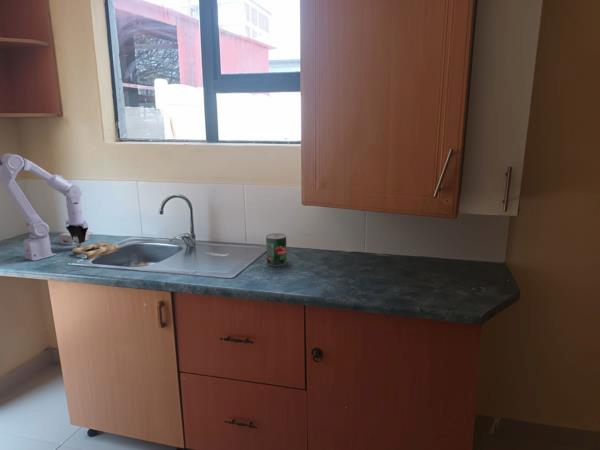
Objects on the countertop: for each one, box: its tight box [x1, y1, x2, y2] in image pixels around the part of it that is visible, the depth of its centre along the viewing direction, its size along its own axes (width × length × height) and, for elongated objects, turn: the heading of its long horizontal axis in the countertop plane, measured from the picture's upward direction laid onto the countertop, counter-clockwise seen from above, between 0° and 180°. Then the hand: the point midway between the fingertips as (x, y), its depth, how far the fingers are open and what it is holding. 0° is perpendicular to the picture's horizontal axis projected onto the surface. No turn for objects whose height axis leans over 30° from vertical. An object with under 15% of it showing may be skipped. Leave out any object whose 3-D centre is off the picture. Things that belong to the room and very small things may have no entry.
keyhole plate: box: [71, 241, 120, 260], centre depth 192 cm, size 14×12×2 cm
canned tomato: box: [265, 232, 288, 267], centre depth 173 cm, size 8×8×11 cm
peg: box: [72, 235, 85, 250], centre depth 199 cm, size 5×5×6 cm
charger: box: [57, 230, 94, 246], centre depth 213 cm, size 5×9×15 cm
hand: (79, 241), depth 198 cm, fingers closed on peg, 4 cm apart
